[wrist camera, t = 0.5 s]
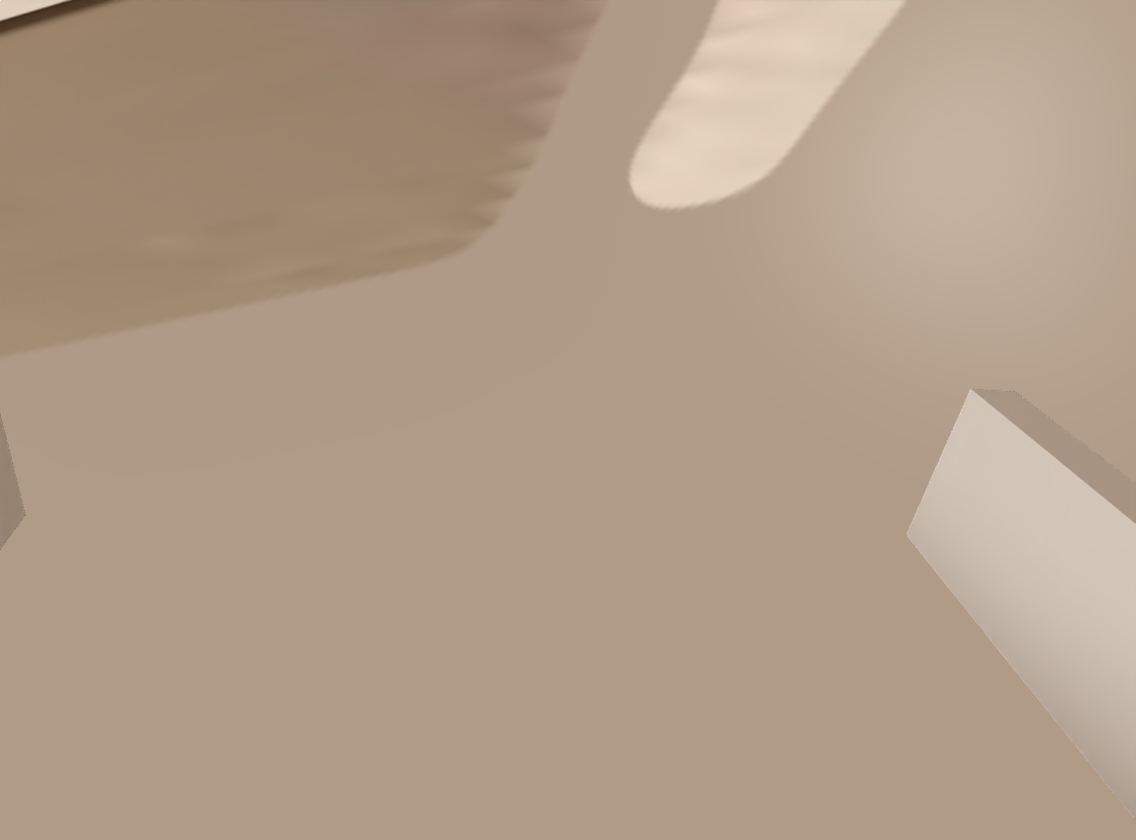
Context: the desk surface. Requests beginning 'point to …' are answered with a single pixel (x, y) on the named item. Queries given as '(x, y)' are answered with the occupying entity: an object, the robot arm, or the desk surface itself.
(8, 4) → the pad
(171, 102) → the desk surface
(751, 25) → the desk surface
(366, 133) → the desk surface
